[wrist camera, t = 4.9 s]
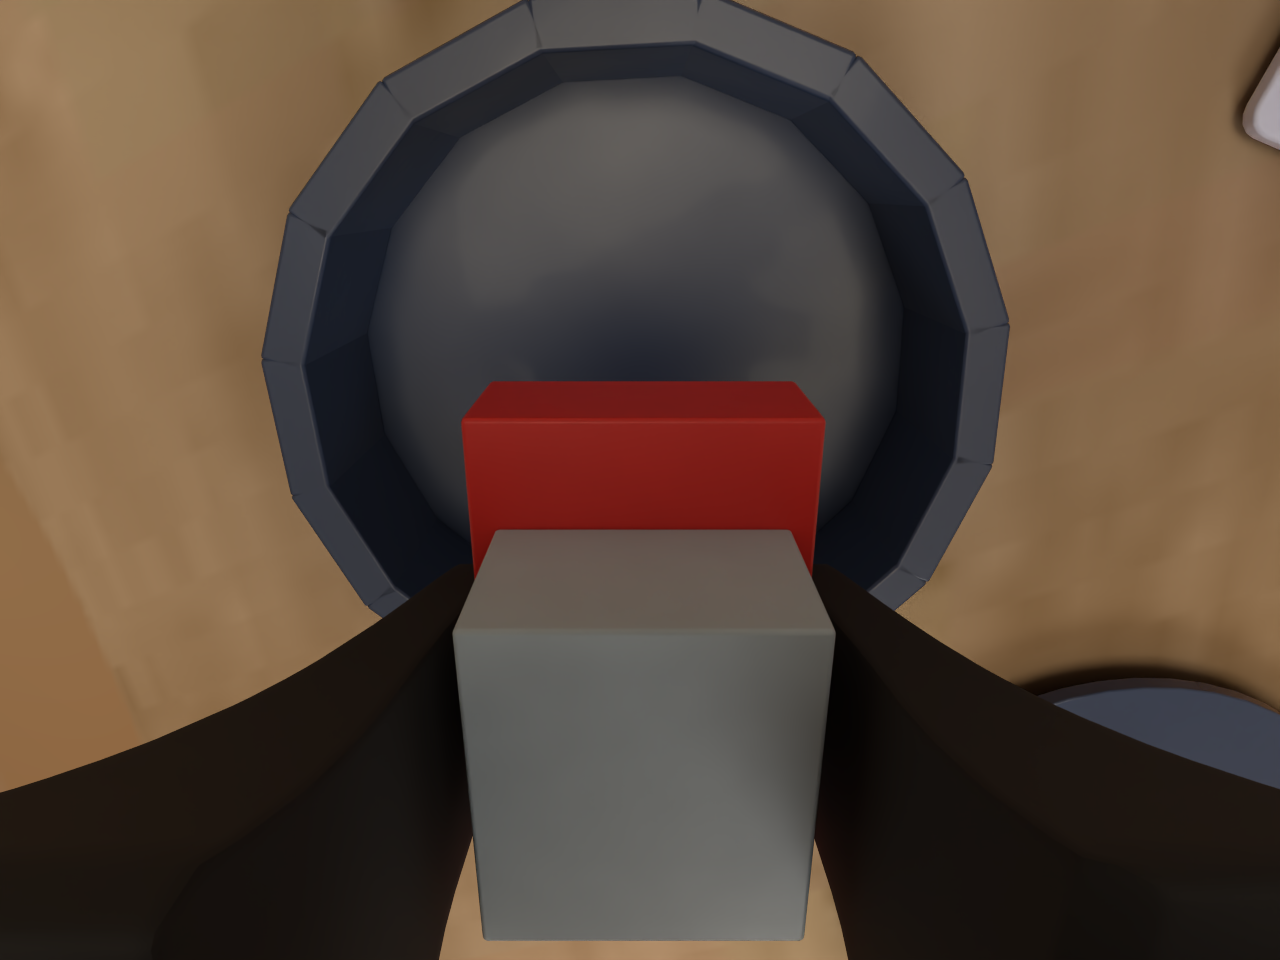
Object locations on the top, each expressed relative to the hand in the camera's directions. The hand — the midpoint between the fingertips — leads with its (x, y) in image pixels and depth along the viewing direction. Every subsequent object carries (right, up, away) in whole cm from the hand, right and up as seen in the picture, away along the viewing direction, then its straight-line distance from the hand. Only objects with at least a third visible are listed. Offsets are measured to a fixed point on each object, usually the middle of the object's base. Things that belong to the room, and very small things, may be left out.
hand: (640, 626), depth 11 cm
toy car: (0, 0, +1) cm, 1 cm away
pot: (0, +5, +7) cm, 9 cm away
